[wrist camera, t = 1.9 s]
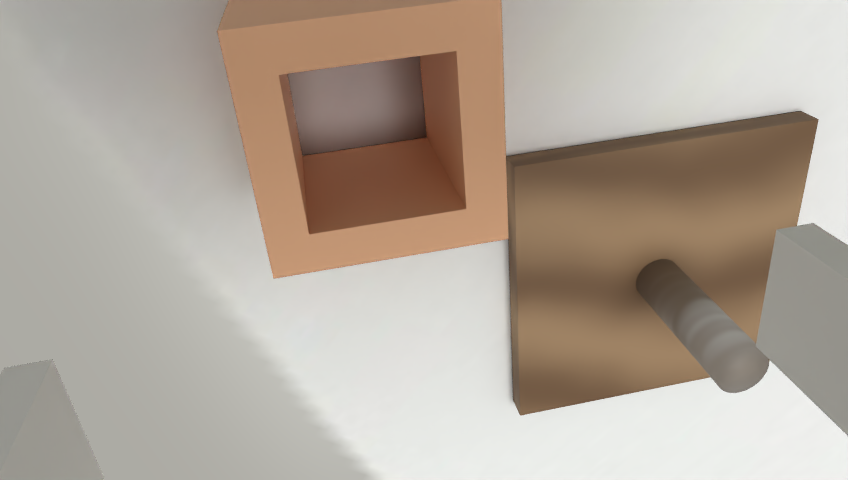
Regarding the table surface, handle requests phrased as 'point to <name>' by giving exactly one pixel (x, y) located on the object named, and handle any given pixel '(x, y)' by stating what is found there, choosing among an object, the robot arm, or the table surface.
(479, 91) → the collar
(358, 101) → the table surface
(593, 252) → the post board
